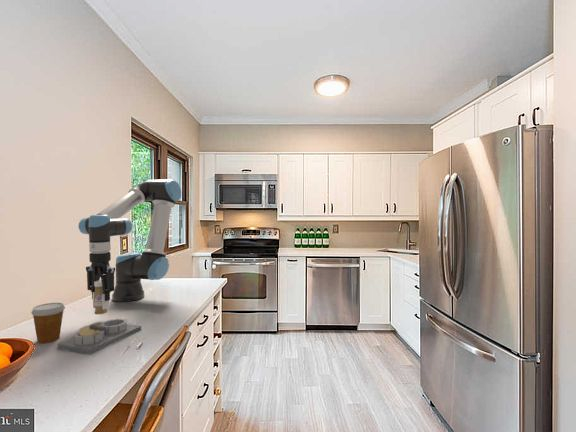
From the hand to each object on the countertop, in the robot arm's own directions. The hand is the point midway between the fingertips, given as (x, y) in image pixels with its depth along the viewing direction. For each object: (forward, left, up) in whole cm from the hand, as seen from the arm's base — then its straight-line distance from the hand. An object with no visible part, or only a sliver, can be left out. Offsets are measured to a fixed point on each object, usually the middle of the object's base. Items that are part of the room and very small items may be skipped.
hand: (101, 307), depth 131 cm
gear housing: (+14, +16, -5) cm, 22 cm away
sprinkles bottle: (0, 0, -2) cm, 2 cm away
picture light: (+15, +32, -6) cm, 36 cm away
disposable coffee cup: (+21, -1, -6) cm, 21 cm away
